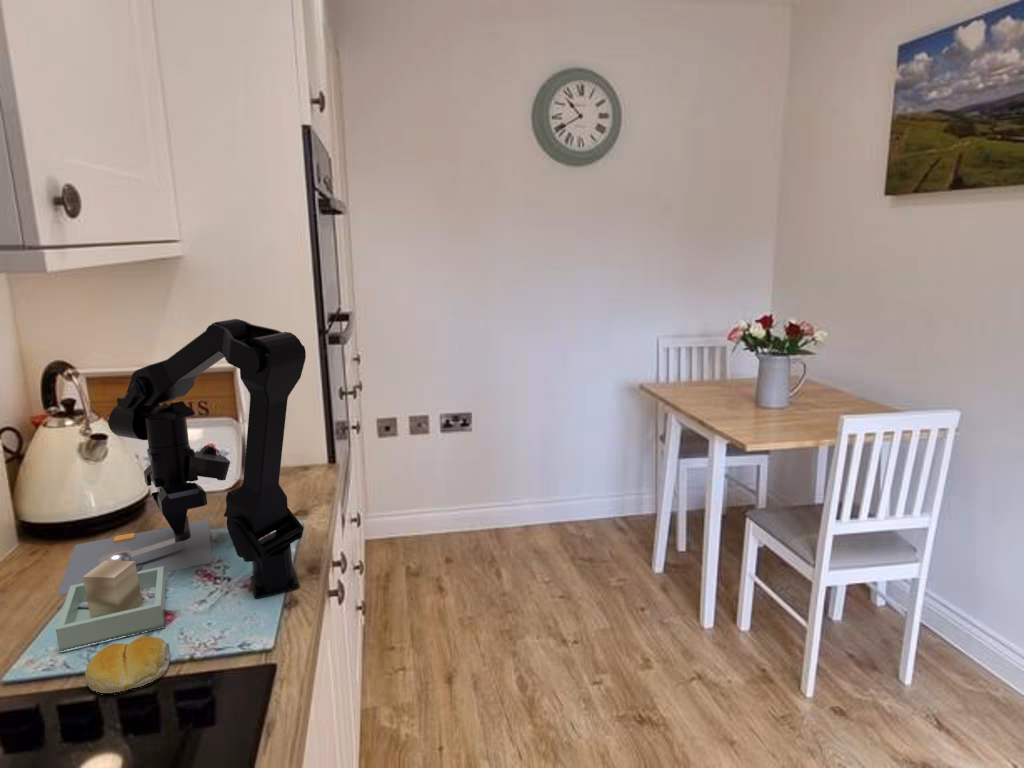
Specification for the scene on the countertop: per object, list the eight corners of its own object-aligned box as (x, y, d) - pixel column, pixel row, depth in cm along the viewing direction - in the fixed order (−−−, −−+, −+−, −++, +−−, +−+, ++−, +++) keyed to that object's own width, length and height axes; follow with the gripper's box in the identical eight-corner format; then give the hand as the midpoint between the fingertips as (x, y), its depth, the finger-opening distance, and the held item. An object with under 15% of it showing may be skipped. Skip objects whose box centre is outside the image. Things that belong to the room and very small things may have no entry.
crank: (104, 578, 100) (99, 548, 99) (97, 567, 103) (92, 538, 102) (196, 547, 109) (192, 520, 108) (187, 539, 112) (183, 512, 111)
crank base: (212, 568, 106) (211, 560, 105) (57, 601, 97) (56, 593, 97) (209, 524, 122) (208, 517, 121) (76, 550, 113) (74, 542, 113)
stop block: (142, 605, 95) (135, 561, 93) (122, 623, 90) (114, 577, 89) (113, 604, 95) (105, 560, 93) (91, 622, 91) (82, 576, 89)
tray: (164, 628, 90) (160, 605, 89) (60, 653, 85) (55, 629, 84) (166, 586, 100) (163, 566, 100) (74, 607, 95) (70, 585, 95)
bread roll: (94, 665, 83) (89, 637, 82) (173, 647, 86) (168, 620, 85) (79, 707, 75) (73, 677, 75) (166, 686, 79) (161, 657, 78)
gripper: (237, 447, 101) (246, 541, 104) (209, 423, 116) (218, 506, 119) (156, 461, 95) (168, 561, 98) (138, 434, 110) (149, 521, 113)
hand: (179, 534), depth 107 cm, fingers closed
